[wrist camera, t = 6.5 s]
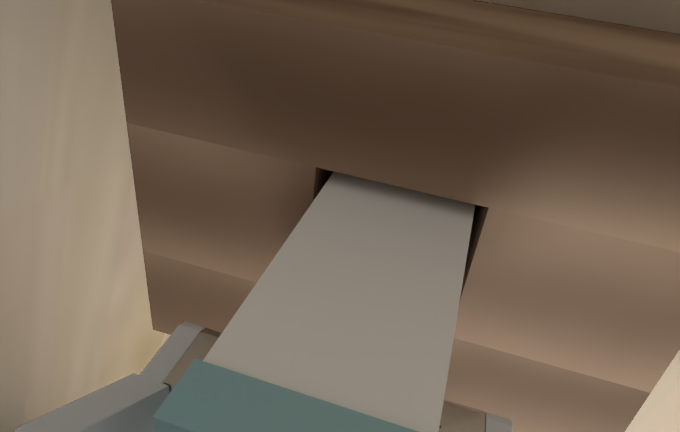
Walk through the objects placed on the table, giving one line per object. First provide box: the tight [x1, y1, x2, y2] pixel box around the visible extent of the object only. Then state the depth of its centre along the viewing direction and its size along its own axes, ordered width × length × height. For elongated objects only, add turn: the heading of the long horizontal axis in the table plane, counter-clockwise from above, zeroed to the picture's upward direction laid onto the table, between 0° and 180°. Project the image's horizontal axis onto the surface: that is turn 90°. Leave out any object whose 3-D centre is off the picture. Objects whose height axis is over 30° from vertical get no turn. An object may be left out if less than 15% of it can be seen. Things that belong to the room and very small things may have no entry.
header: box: [111, 0, 680, 432], centre depth 17 cm, size 12×16×6 cm
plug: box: [153, 172, 475, 432], centre depth 13 cm, size 4×4×11 cm
